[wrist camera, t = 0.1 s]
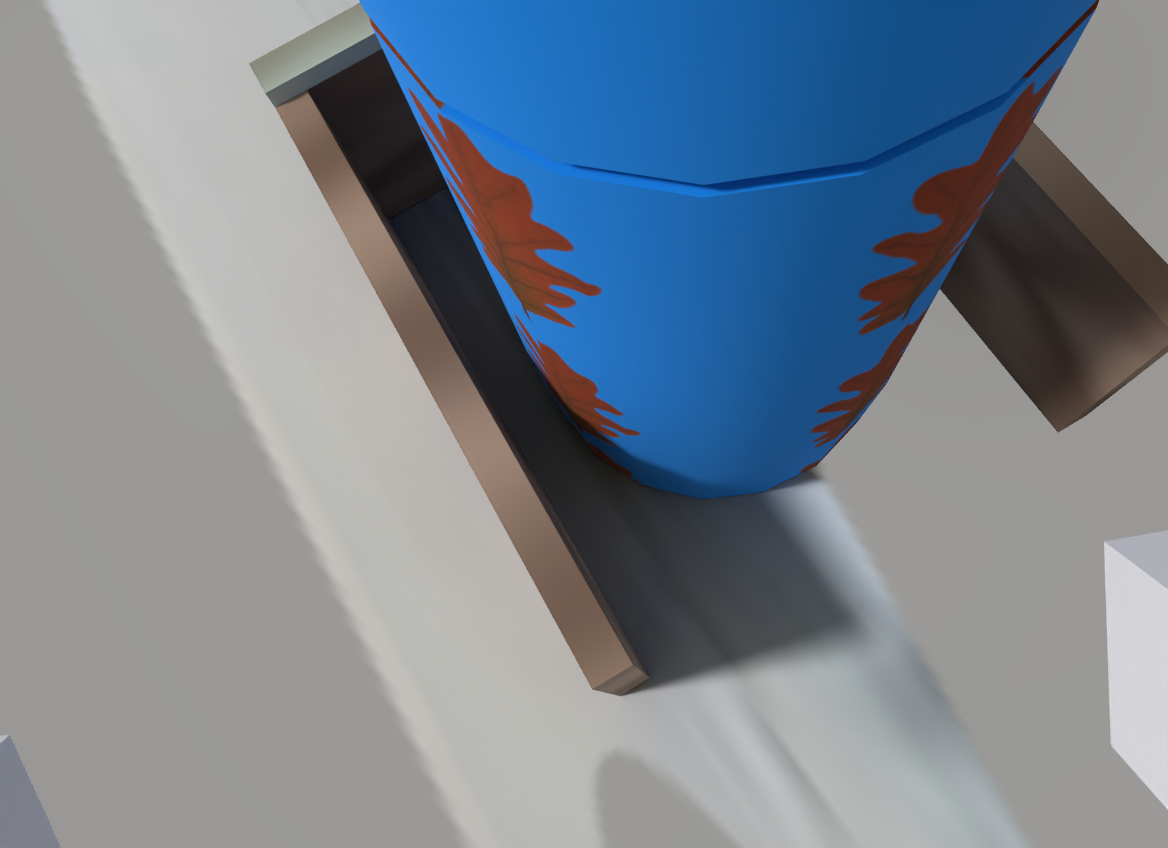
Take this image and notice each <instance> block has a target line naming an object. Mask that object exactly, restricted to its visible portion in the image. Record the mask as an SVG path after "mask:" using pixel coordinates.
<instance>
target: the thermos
mask: <svg viewBox="0 0 1168 848" xmlns="http://www.w3.org/2000/svg"><path fill="white" fill-rule="evenodd" d="M359 1H360V3H361V5H362V7H363V9H364V11H365V12H366V13H367V15H368V16H369V18H370V23H371V26H372V28H373V30H374V32H375V34H376V36H377V38H378V41H379V43H380V45H381V47H382V49H383V51H384V53H385V55H386V57H387V59H388V62H389V64H390V66H391V68H392V70H393V72H394V74H395V76H396V78H397V80H398V82H399V85H400V87H401V89H402V91H403V93H404V95H405V97H406V99H407V101H408V103H409V106H410V108H411V110H412V112H413V114H414V116H415V118H416V120H417V122H418V124H419V126H420V129H421V131H422V133H423V135H424V137H425V139H426V141H427V143H428V145H429V147H430V149H431V152H432V154H433V156H434V158H435V160H436V162H437V164H438V166H439V168H440V170H441V173H442V175H443V177H444V179H445V181H446V183H447V185H448V187H449V189H450V191H451V193H452V196H453V198H454V200H455V202H456V204H457V206H458V208H459V210H460V212H461V214H462V217H463V219H464V221H465V223H466V225H467V227H468V229H469V231H470V233H471V235H472V237H473V240H474V242H475V244H476V246H477V248H478V250H479V252H480V254H481V256H482V258H483V260H484V263H485V265H486V267H487V269H488V271H489V273H490V275H491V277H492V279H493V281H494V284H495V286H496V288H497V290H498V292H499V294H500V296H501V298H502V300H503V302H504V304H505V307H506V309H507V311H508V313H509V315H510V317H511V319H512V321H513V323H514V325H515V328H516V330H517V332H518V334H519V336H520V338H521V340H522V342H523V344H524V346H525V348H526V351H527V353H528V355H529V357H530V359H531V361H532V363H533V365H534V367H535V369H536V371H537V373H538V374H539V376H540V377H541V379H542V380H543V382H544V383H545V385H546V386H547V388H548V390H549V391H550V393H551V394H552V396H553V397H554V399H555V400H556V402H557V403H558V405H559V406H560V408H561V409H562V411H563V412H564V414H565V415H566V416H567V418H568V419H569V420H570V422H571V423H572V424H573V426H574V427H575V428H576V430H577V431H578V432H579V434H580V435H581V436H582V438H583V439H584V440H585V442H586V443H587V444H588V446H589V447H590V448H591V450H592V451H593V452H594V454H595V455H596V456H598V457H599V458H601V459H602V460H604V461H606V462H607V463H609V464H610V465H612V466H613V467H615V468H617V469H618V470H620V471H621V472H623V473H624V474H626V475H628V476H629V477H631V478H632V479H634V480H635V481H637V482H638V483H640V484H642V485H643V486H646V487H650V488H655V489H659V490H664V491H668V492H672V493H677V494H681V495H686V496H690V497H694V498H699V499H709V498H718V497H726V496H735V495H744V494H752V493H761V492H764V491H766V490H768V489H770V488H772V487H774V486H776V485H778V484H780V483H782V482H784V481H787V480H789V479H791V478H793V477H795V476H797V475H799V474H801V473H803V472H805V471H807V470H809V469H811V468H813V467H815V466H817V464H818V463H819V462H820V461H821V460H822V459H823V458H824V457H825V456H826V455H827V454H828V453H829V452H830V451H831V450H832V448H833V447H834V446H835V445H836V444H837V443H838V442H839V441H840V440H841V439H842V438H843V437H844V436H845V435H846V434H847V433H848V431H849V430H850V429H851V428H852V427H853V426H854V425H855V424H856V423H857V421H858V420H859V419H860V417H861V416H862V415H863V414H864V412H865V411H866V409H867V408H868V407H869V406H870V404H871V403H872V402H873V400H874V399H875V398H876V397H877V395H878V394H879V393H880V391H881V390H882V389H883V387H884V386H885V385H886V383H887V382H888V380H889V378H890V376H891V375H892V372H893V371H894V369H895V368H896V366H897V364H898V362H899V360H900V358H901V357H902V355H903V353H904V351H905V350H906V348H907V346H908V344H909V342H910V341H911V339H912V337H913V335H914V334H915V332H916V330H917V328H918V326H919V324H920V323H921V321H922V319H923V317H924V316H925V314H926V312H927V310H928V308H929V307H930V305H931V303H932V301H933V300H934V298H935V296H936V294H937V292H938V291H939V289H940V287H941V285H942V283H943V282H944V280H945V278H946V276H947V274H948V273H949V271H950V269H951V267H952V266H953V264H954V262H955V260H956V258H957V257H958V255H959V253H960V251H961V249H962V248H963V246H964V244H965V242H966V240H967V239H968V237H969V235H970V233H971V232H972V230H973V228H974V226H975V224H976V223H977V221H978V219H979V217H980V215H981V214H982V212H983V210H984V208H985V206H986V205H987V203H988V201H989V199H990V197H991V196H992V194H993V192H994V190H995V189H996V187H997V185H998V183H999V181H1000V180H1001V178H1002V176H1003V174H1004V172H1005V171H1006V169H1007V167H1008V165H1009V163H1010V162H1011V160H1012V158H1013V156H1014V155H1015V153H1016V151H1017V149H1018V147H1019V146H1020V144H1021V142H1022V140H1023V138H1024V137H1025V135H1026V133H1027V131H1028V129H1029V128H1030V126H1031V124H1032V122H1033V121H1034V119H1035V117H1036V115H1037V113H1038V111H1039V110H1040V108H1041V106H1042V104H1043V103H1044V101H1045V99H1046V97H1047V95H1048V94H1049V92H1050V90H1051V88H1052V87H1053V84H1054V83H1055V81H1056V79H1057V78H1058V76H1059V74H1060V72H1061V70H1062V68H1063V67H1064V65H1065V63H1066V61H1067V60H1068V58H1069V56H1070V54H1071V52H1072V51H1073V49H1074V47H1075V45H1076V43H1077V42H1078V40H1079V38H1080V36H1081V35H1082V33H1083V31H1084V29H1085V27H1086V25H1087V24H1088V22H1089V20H1090V18H1091V16H1092V15H1093V13H1094V11H1095V9H1096V8H1097V5H1098V2H1099V0H359Z"/></svg>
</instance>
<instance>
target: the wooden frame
mask: <svg viewBox="0 0 1168 848" xmlns="http://www.w3.org/2000/svg"><path fill="white" fill-rule="evenodd" d="M249 64H250V66H251V68H252V70H253V71H254V73H255V75H256V77H257V79H258V81H259V83H260V84H261V86H262V88H263V90H264V92H265V93H266V95H267V96H268V98H269V99H270V101H271V102H272V103H273V105H274V106H275V108H276V110H277V112H278V113H279V115H280V117H281V119H282V121H283V123H284V124H285V126H286V128H287V130H288V132H289V134H290V135H291V137H292V139H293V141H294V143H295V145H296V146H297V148H298V150H299V152H300V154H301V156H302V157H303V159H304V161H305V163H306V165H307V167H308V168H309V170H310V172H311V174H312V176H313V178H314V179H315V181H316V183H317V185H318V187H319V189H320V190H321V192H322V194H323V196H324V198H325V200H326V201H327V203H328V205H329V207H330V209H331V211H332V212H333V214H334V216H335V218H336V220H337V222H338V223H339V225H340V227H341V229H342V231H343V233H344V234H345V236H346V238H347V240H348V242H349V244H350V245H351V247H352V249H353V251H354V253H355V255H356V256H357V258H358V260H359V262H360V264H361V266H362V267H363V269H364V271H365V273H366V275H367V277H368V278H369V280H370V282H371V284H372V286H373V288H374V289H375V291H376V293H377V295H378V297H379V299H380V300H381V302H382V304H383V306H384V308H385V310H386V311H387V313H388V315H389V317H390V319H391V321H392V322H393V324H394V326H395V328H396V330H397V332H398V333H399V335H400V337H401V339H402V341H403V343H404V345H405V346H406V348H407V350H408V352H409V354H410V356H411V357H412V359H413V361H414V363H415V365H416V367H417V368H418V370H419V372H420V374H421V376H422V378H423V379H424V381H425V383H426V385H427V387H428V389H429V390H430V392H431V394H432V396H433V398H434V400H435V401H436V403H437V405H438V407H439V409H440V411H441V412H442V414H443V416H444V418H445V420H446V422H447V423H448V425H449V427H450V429H451V431H452V433H453V434H454V436H455V438H456V440H457V442H458V444H459V445H460V447H461V449H462V451H463V453H464V455H465V456H466V458H467V460H468V462H469V464H470V466H471V467H472V469H473V471H474V473H475V475H476V477H477V478H478V480H479V482H480V484H481V486H482V488H483V489H484V491H485V493H486V495H487V497H488V499H489V500H490V502H491V504H492V506H493V508H494V510H495V511H496V513H497V515H498V517H499V519H500V521H501V522H502V524H503V526H504V528H505V530H506V532H507V533H508V535H509V537H510V539H511V541H512V543H513V544H514V546H515V548H516V550H517V552H518V554H519V555H520V557H521V559H522V561H523V563H524V565H525V566H526V568H527V570H528V572H529V574H530V576H531V577H532V579H533V581H534V583H535V585H536V587H537V588H538V590H539V592H540V594H541V596H542V598H543V599H544V601H545V603H546V605H547V607H548V609H549V610H550V612H551V614H552V616H553V618H554V620H555V621H556V623H557V625H558V627H559V629H560V631H561V633H562V634H563V636H564V638H565V640H566V642H567V644H568V645H569V647H570V649H571V651H572V653H573V655H574V656H575V658H576V660H577V662H578V664H579V666H580V667H581V669H582V671H583V673H584V675H585V677H586V678H587V680H588V682H589V684H590V686H591V688H592V689H593V690H597V691H602V692H606V693H610V694H614V695H618V696H622V695H623V694H625V693H627V692H628V691H630V690H632V689H633V688H635V687H637V686H638V685H640V684H642V683H643V682H645V681H647V680H648V679H650V676H649V675H648V673H647V671H646V669H645V668H644V666H643V664H642V662H641V661H640V659H639V657H638V655H637V654H636V652H635V650H634V648H633V647H632V645H631V643H630V641H629V640H628V638H627V636H626V634H625V633H624V631H623V629H622V627H621V626H620V624H619V622H618V620H617V619H616V617H615V615H614V613H613V612H612V610H611V608H610V606H609V605H608V603H607V601H606V599H605V598H604V596H603V594H602V592H601V591H600V589H599V587H598V585H597V584H596V582H595V580H594V578H593V577H592V575H591V573H590V571H589V570H588V568H587V566H586V564H585V563H584V561H583V559H582V557H581V556H580V554H579V552H578V550H577V549H576V547H575V545H574V543H573V542H572V540H571V538H570V536H569V535H568V533H567V531H566V529H565V528H564V526H563V524H562V522H561V521H560V519H559V517H558V515H557V514H556V512H555V510H554V508H553V507H552V505H551V503H550V501H549V500H548V498H547V496H546V494H545V493H544V491H543V489H542V487H541V486H540V484H539V482H538V480H537V479H536V477H535V475H534V473H533V472H532V470H531V468H530V466H529V465H528V463H527V461H526V459H525V458H524V456H523V454H522V452H521V451H520V449H519V447H518V445H517V444H516V442H515V440H514V438H513V437H512V435H511V433H510V431H509V430H508V428H507V426H506V424H505V423H504V421H503V419H502V417H501V416H500V414H499V412H498V410H497V409H496V407H495V405H494V403H493V402H492V400H491V398H490V396H489V395H488V393H487V391H486V389H485V388H484V386H483V384H482V382H481V381H480V379H479V377H478V375H477V374H476V372H475V370H474V368H473V367H472V365H471V363H470V361H469V360H468V358H467V356H466V354H465V353H464V351H463V349H462V347H461V346H460V344H459V342H458V340H457V339H456V337H455V335H454V333H453V332H452V330H451V328H450V326H449V325H448V323H447V321H446V319H445V318H444V316H443V314H442V312H441V311H440V309H439V307H438V305H437V304H436V302H435V300H434V298H433V297H432V295H431V293H430V291H429V290H428V288H427V286H426V284H425V283H424V281H423V279H422V277H421V276H420V274H419V272H418V270H417V269H416V267H415V265H414V263H413V262H412V260H411V258H410V256H409V255H408V253H407V251H406V249H405V248H404V246H403V244H402V242H401V241H400V239H399V237H398V235H397V234H396V232H395V230H394V228H393V227H392V225H391V223H390V221H389V220H388V219H390V218H392V217H393V216H395V215H397V214H399V213H401V212H402V211H404V210H406V209H408V208H410V207H411V206H413V205H415V204H417V203H418V202H420V201H422V200H424V199H426V198H427V197H429V196H431V195H433V194H434V193H436V192H438V191H440V190H442V189H443V188H445V187H447V186H448V185H447V183H446V181H445V179H444V177H443V175H442V173H441V170H440V168H439V166H438V164H437V162H436V160H435V158H434V156H433V154H432V152H431V149H430V147H429V145H428V143H427V141H426V139H425V137H424V135H423V133H422V131H421V129H420V126H419V124H418V122H417V120H416V118H415V116H414V114H413V112H412V110H411V108H410V106H409V103H408V101H407V99H406V97H405V95H404V93H403V91H402V89H401V87H400V85H399V82H398V80H397V78H396V76H395V74H394V72H393V70H392V68H391V66H390V64H389V62H388V59H387V57H386V55H385V53H384V51H383V49H382V47H381V45H380V43H379V41H378V38H377V36H376V34H375V32H374V30H373V28H372V26H371V23H370V18H369V16H368V15H367V13H366V12H365V11H364V9H363V7H362V5H361V3H359V4H357V5H355V6H353V7H352V8H350V9H348V10H346V11H344V12H342V13H341V14H339V15H337V16H335V17H333V18H331V19H330V20H328V21H326V22H324V23H322V24H320V25H319V26H317V27H315V28H313V29H311V30H309V31H308V32H306V33H304V34H302V35H300V36H298V37H297V38H295V39H293V40H291V41H289V42H287V43H286V44H284V45H282V46H280V47H278V48H276V49H275V50H273V51H271V52H269V53H267V54H266V55H264V56H262V57H260V58H258V59H256V60H255V61H253V62H251V63H249ZM940 289H941V291H942V292H943V293H944V294H945V295H946V297H947V298H948V299H949V300H950V302H951V303H952V304H953V305H954V306H955V308H956V309H957V310H958V311H959V313H960V314H961V315H962V316H963V317H964V319H965V320H966V321H967V322H968V324H969V325H970V326H971V327H972V328H973V329H974V331H975V332H976V333H977V334H978V336H979V337H980V338H981V339H982V341H983V342H984V343H985V344H986V345H987V347H988V348H989V349H990V350H991V351H992V353H993V354H994V355H995V356H996V357H997V359H998V360H999V361H1000V362H1001V364H1002V365H1003V366H1004V367H1005V369H1006V370H1007V371H1008V372H1009V373H1010V375H1011V376H1012V377H1013V378H1014V380H1015V381H1016V382H1017V383H1018V384H1019V386H1020V387H1021V388H1022V389H1023V390H1024V392H1025V393H1026V394H1027V395H1028V396H1029V398H1030V399H1031V400H1032V401H1033V403H1034V404H1035V405H1036V406H1037V407H1038V409H1039V410H1040V411H1041V412H1042V414H1043V415H1044V416H1045V417H1046V418H1047V420H1048V421H1049V422H1050V423H1051V424H1052V425H1053V427H1054V428H1055V429H1056V431H1057V432H1060V431H1061V430H1063V429H1064V428H1066V427H1068V426H1069V425H1071V424H1073V423H1074V422H1076V421H1078V420H1079V419H1081V418H1083V417H1084V416H1086V415H1087V414H1088V413H1090V412H1091V411H1092V410H1094V409H1095V408H1096V407H1098V406H1099V405H1100V404H1101V403H1103V402H1104V401H1105V400H1106V399H1108V398H1109V397H1110V396H1112V395H1113V394H1114V393H1116V392H1117V391H1118V390H1119V389H1121V388H1122V387H1123V386H1125V385H1126V384H1127V383H1128V382H1129V381H1131V380H1132V379H1134V378H1135V377H1136V376H1137V375H1138V374H1140V373H1141V372H1142V371H1143V370H1145V369H1146V368H1148V367H1149V366H1150V365H1151V364H1153V363H1154V362H1155V361H1157V360H1158V359H1159V358H1160V357H1162V356H1163V355H1164V354H1166V353H1167V352H1168V264H1167V263H1166V262H1165V261H1164V260H1163V259H1162V258H1161V257H1160V256H1159V255H1158V254H1157V253H1156V252H1155V251H1154V250H1153V248H1152V247H1151V246H1150V245H1149V244H1148V243H1147V242H1146V241H1145V240H1144V239H1143V238H1142V237H1141V236H1140V235H1139V234H1138V232H1137V231H1136V230H1135V229H1134V228H1133V227H1132V226H1131V225H1130V224H1129V223H1128V222H1127V221H1126V220H1125V219H1124V218H1123V217H1122V216H1121V214H1119V212H1118V211H1117V210H1116V209H1115V208H1114V207H1113V206H1112V205H1111V204H1110V203H1109V202H1108V201H1107V200H1106V199H1105V198H1104V196H1102V194H1101V193H1100V192H1099V191H1098V190H1097V189H1096V188H1095V187H1094V186H1093V185H1092V184H1091V183H1090V182H1089V181H1088V180H1087V178H1085V176H1084V175H1083V174H1082V173H1081V172H1080V171H1079V170H1078V169H1077V168H1076V167H1075V166H1074V165H1073V164H1072V163H1071V162H1070V161H1069V159H1068V158H1066V156H1065V155H1064V154H1063V153H1062V152H1061V151H1060V150H1059V149H1058V148H1057V147H1056V146H1055V145H1054V144H1053V142H1051V140H1050V139H1049V138H1048V137H1047V136H1046V135H1045V134H1044V133H1043V132H1042V131H1041V130H1040V129H1039V128H1038V127H1037V126H1036V124H1035V123H1034V122H1032V124H1031V126H1030V128H1029V129H1028V131H1027V133H1026V135H1025V137H1024V138H1023V140H1022V142H1021V144H1020V146H1019V147H1018V149H1017V151H1016V153H1015V155H1014V156H1013V158H1012V160H1011V162H1010V163H1009V165H1008V167H1007V169H1006V171H1005V172H1004V174H1003V176H1002V178H1001V180H1000V181H999V183H998V185H997V187H996V189H995V190H994V192H993V194H992V196H991V197H990V199H989V201H988V203H987V205H986V206H985V208H984V210H983V212H982V214H981V215H980V217H979V219H978V221H977V223H976V224H975V226H974V228H973V230H972V232H971V233H970V235H969V237H968V239H967V240H966V242H965V244H964V246H963V248H962V249H961V251H960V253H959V255H958V257H957V258H956V260H955V262H954V264H953V266H952V267H951V269H950V271H949V273H948V274H947V276H946V278H945V280H944V282H943V283H942V285H941V287H940Z"/></svg>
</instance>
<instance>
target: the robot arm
mask: <svg viewBox="0 0 1168 848" xmlns="http://www.w3.org/2000/svg"><path fill="white" fill-rule="evenodd" d="M1104 553H1105V555H1104V556H1105V585H1106V616H1107V645H1108V677H1109V703H1110V704H1109V707H1110V738H1111V746H1112V747H1113V748H1114V750H1115V751H1116V752H1117V753H1118V754H1119V755H1120V756H1121V757H1122V759H1123V760H1124V761H1125V762H1126V763H1127V764H1128V765H1129V767H1130V768H1131V769H1132V770H1133V771H1134V772H1135V773H1136V774H1137V776H1138V777H1139V778H1140V779H1141V780H1142V781H1143V782H1144V783H1145V785H1146V786H1147V787H1148V788H1149V789H1150V790H1151V791H1152V793H1153V794H1154V795H1155V796H1156V797H1157V798H1158V799H1159V801H1160V802H1161V803H1162V804H1163V805H1164V806H1165V807H1166V808H1167V810H1168V530H1166V531H1160V532H1155V533H1149V534H1143V535H1138V536H1132V537H1127V538H1121V539H1115V540H1109V541H1104ZM0 848H61V847H60V845H59V842H58V840H57V838H56V836H55V834H54V831H53V829H52V827H51V825H50V823H49V820H48V818H47V816H46V814H45V812H44V809H43V807H42V805H41V803H40V801H39V798H38V797H37V794H36V792H35V790H34V788H33V785H32V783H31V781H30V779H29V776H28V774H27V772H26V770H25V768H24V766H23V763H22V761H21V759H20V757H19V755H18V752H17V750H16V748H15V746H14V743H13V741H12V739H11V737H10V735H5V736H0Z"/></svg>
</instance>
